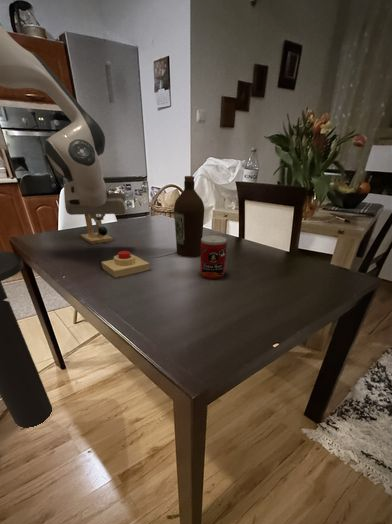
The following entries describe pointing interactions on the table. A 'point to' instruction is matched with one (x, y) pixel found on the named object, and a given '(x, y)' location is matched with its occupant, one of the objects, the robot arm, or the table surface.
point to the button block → (125, 266)
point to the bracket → (92, 236)
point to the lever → (100, 227)
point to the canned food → (213, 256)
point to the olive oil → (189, 220)
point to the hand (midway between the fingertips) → (99, 218)
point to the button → (124, 254)
